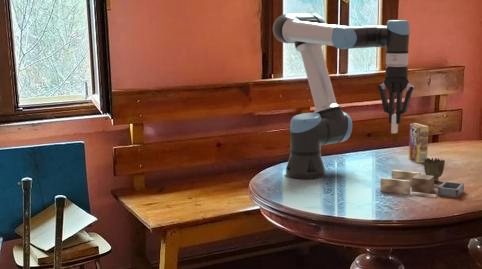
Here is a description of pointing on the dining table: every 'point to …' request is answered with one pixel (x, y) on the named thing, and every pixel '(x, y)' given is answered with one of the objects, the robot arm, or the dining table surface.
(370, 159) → the dining table surface
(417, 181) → the block
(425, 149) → the candy box
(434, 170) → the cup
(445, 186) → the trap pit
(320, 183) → the dining table surface
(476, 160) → the dining table surface
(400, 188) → the twin plank rail frame
